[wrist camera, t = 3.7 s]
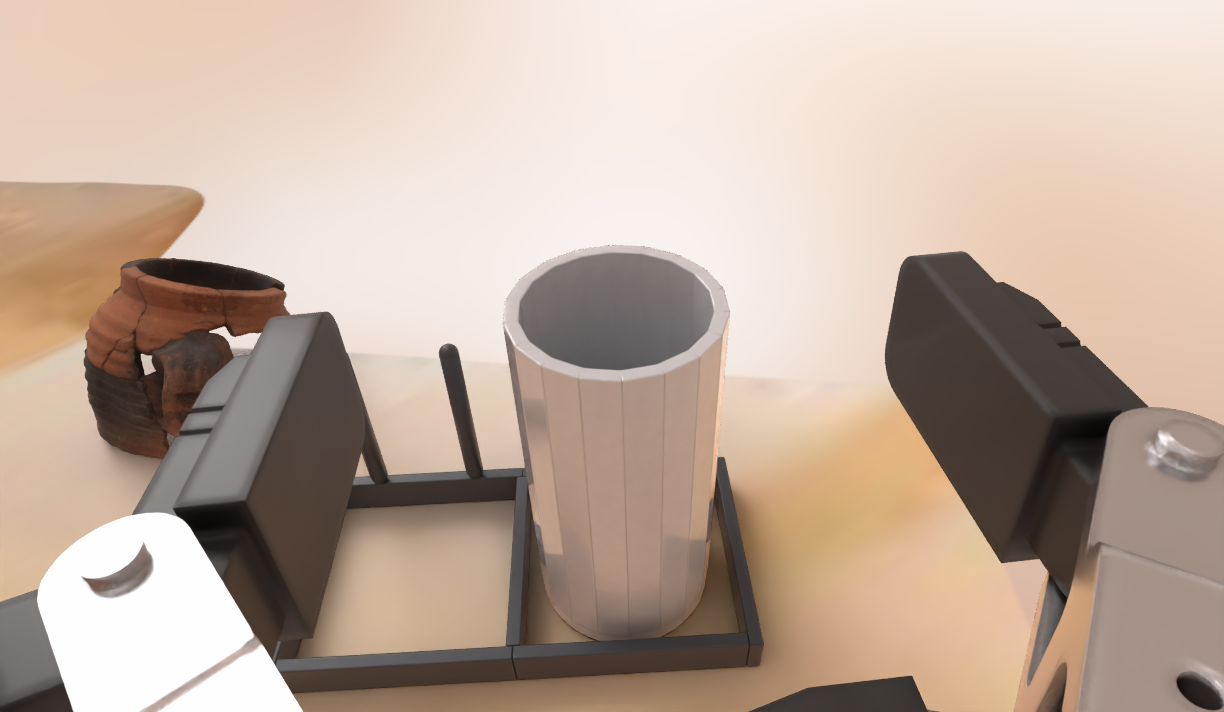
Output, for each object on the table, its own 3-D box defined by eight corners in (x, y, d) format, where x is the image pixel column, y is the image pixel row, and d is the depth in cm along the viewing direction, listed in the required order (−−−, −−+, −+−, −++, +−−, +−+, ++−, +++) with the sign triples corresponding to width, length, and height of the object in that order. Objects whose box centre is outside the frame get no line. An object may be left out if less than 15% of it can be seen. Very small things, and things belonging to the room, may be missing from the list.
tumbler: (541, 650, 28) (495, 388, 19) (545, 508, 33) (510, 249, 24) (717, 640, 28) (747, 374, 19) (694, 500, 33) (711, 239, 24)
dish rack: (271, 694, 27) (173, 549, 21) (330, 499, 33) (266, 349, 28) (760, 666, 27) (788, 514, 22) (722, 477, 34) (736, 324, 28)
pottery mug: (78, 399, 40) (90, 242, 38) (274, 402, 45) (291, 265, 43) (77, 506, 30) (91, 304, 28) (324, 493, 36) (349, 324, 34)
